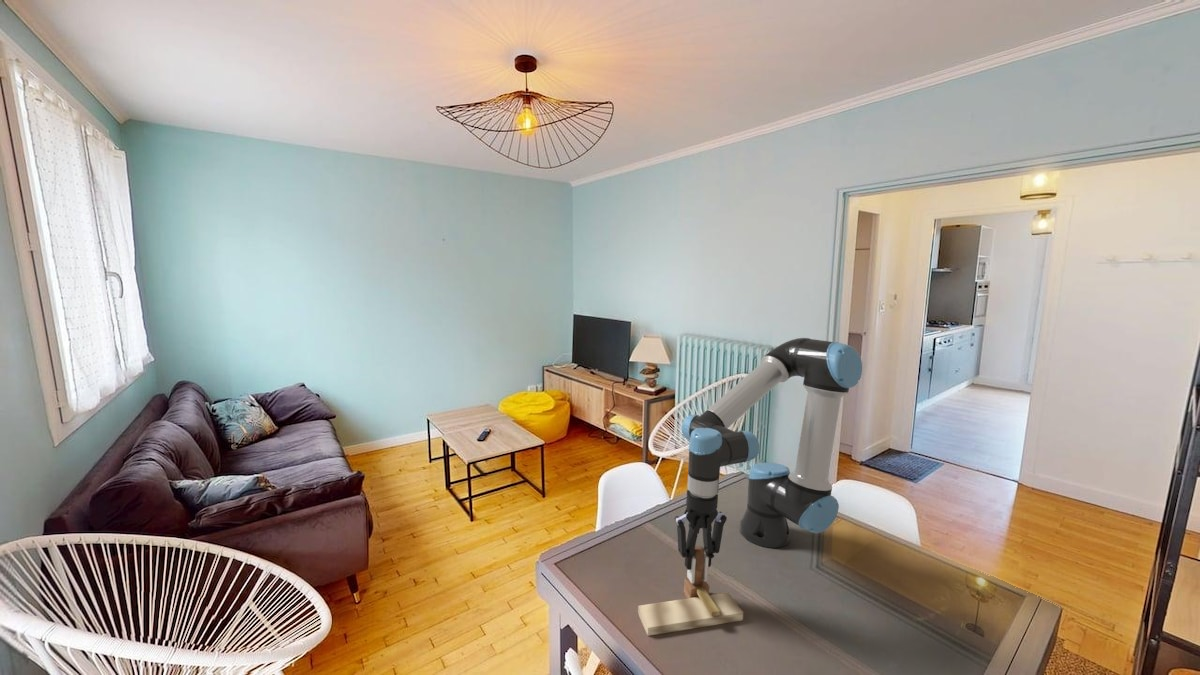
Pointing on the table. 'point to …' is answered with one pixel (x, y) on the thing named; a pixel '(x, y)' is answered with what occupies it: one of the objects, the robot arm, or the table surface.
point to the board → (687, 614)
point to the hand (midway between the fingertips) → (697, 578)
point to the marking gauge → (700, 584)
